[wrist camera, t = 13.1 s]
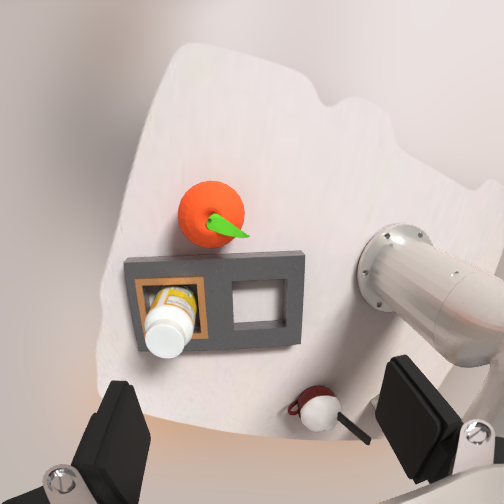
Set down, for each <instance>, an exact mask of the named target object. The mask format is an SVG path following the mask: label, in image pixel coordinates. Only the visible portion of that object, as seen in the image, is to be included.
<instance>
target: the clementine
mask: <svg viewBox="0 0 504 504" xmlns="http://www.w3.org/2000/svg"><path fill="white" fill-rule="evenodd" d="M244 214H245V212H244V206H243V203H242V200H241V198H240V196H239V195H238V194H237V193H236V191H235V190H234V189H232V188H231V187H230V186H228V185H227V184H224V183H221V182H217V181H206V182H201V183H199V184H197V185H195V186H193V187H192V188H190V189H189V190H188V191H187V192H186V193H185V195H184V196H183V198H182V199H181V202H180V205H179V208H178V220H179V225H180V227H181V229H182V231H183V233H184V235H185V236H186V237H187V238H188V239H189V240H190V241H192V242H193V243H195V244H196V245H199V246H202V247H207V248H215V247H221V246H223V245H225V244H227V243H229V242H230V241H232V240H233V239H234V238H235V237H239V238H247V237H250V236H249V235H247V234H246V233H244V232H243V231H241V227H242V225H243V222H244Z"/></svg>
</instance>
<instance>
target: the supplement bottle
mask: <svg viewBox="0 0 504 504" xmlns="http://www.w3.org/2000/svg"><path fill="white" fill-rule="evenodd" d="M196 311H197V299H196V297H195V295H194V293H193V292H192V291H191V290H190V289H189V288H188V287H186V286H185V285H182V284H179V285H165V286H163V287H162V288H161V289H160V290H159V291H158V293H157V295H156V297H155V299H154V301H153V303H152V305H151V308H150V310H149V312H148V314H147V316H146V319H145V323H144V328H145V332H146V336H145V343H146V346H147V348H148V349H149V350H150V351H151V352H152V353H153V354H154V355H156V356H158V357H160V358H165V359H170V358H174V357H176V356H178V355H179V354H180V353H181V352H182V351H183V349H184V346H185V345H186V344H188V342H189V341H190V340H191V338H192V335H193V331H194V324H195V317H196Z"/></svg>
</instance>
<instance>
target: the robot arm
mask: <svg viewBox="0 0 504 504" xmlns="http://www.w3.org/2000/svg"><path fill="white" fill-rule="evenodd" d="M363 271H364V272H363ZM357 279H358V286H359V290H360V292H361V294H362V296H363V298H364V299H365V300H366V301H367V302H368V303H369V304H370V305H371V306H372V307H373V308H375V309H377V310H379V311H383V312H396V313H397V314H398V315H399V316H400V317H401V318H402V319H403V320H404V321H405V322H407V323H408V324H409V325H410V326H411V327H412V328H413V329H414V330H415V331H416V332H417V333H418V334H419V335H421V336H422V337H423V338H424V339H425V340H426V341H427V342H428V343H429V344H430V345H431V346H432V347H433V348H434V349H435V350H436V351H438V352H439V353H440V354H441V355H442V356H443V357H444V358H445V359H446V360H448V361H449V362H450V363H452V364H454V365H456V366H459V367H465V368H472V367H479V366H483V365H487V364H490V370H489V373H488V375H487V377H486V379H485V381H484V383H483V385H482V388H481V389H480V391H479V393H478V394H477V396H476V398H475V399H474V401H473V403H472V404H471V406H470V407H469V409H468V410H467V412H466V413H465V415H464V417H463V418H462V419H461V418H460V417H459V416H458V415H457V413H456V412H455V411H454V410H453V408H452V407H451V406H450V405H449V404H448V402H447V401H446V400H445V399H444V398H443V397H442V395H441V394H440V393H439V392H438V390H437V389H436V388H435V387H434V386H433V385H432V383H431V382H430V381H429V380H428V379H427V378H426V376H425V375H424V374H423V373H422V372H421V371H420V369H419V368H418V367H417V366H416V365H415V364H414V363H413V361H412V360H411V359H410V358H409V357H408V356H407V355H401V356H397V357H393V358H391V360H390V362H388V363H387V365H386V370H385V374H384V379H383V383H382V387H381V391H380V395H379V399H378V403H377V407H376V411H375V417H376V420H377V422H378V423H379V425H380V427H381V429H382V431H383V432H384V434H385V436H386V438H387V440H388V441H389V443H390V445H391V447H392V449H393V451H394V453H395V454H396V456H397V458H398V460H399V462H400V464H401V465H402V467H403V469H404V471H405V473H406V475H407V476H408V478H409V479H413V481H414V482H415V484H418V483H421V482H423V481H425V480H428V482H429V483H430V484H429V485H427V486H425V487H422V488H419V489H417V490H414V491H411V492H409V493H406V494H403V495H400V496H398V497H395V498H392V499H389V500H386V501H383V502H380V503H376V504H504V280H502V279H500V278H498V277H496V276H494V275H492V274H490V273H488V272H486V271H484V270H482V269H480V268H478V267H476V266H474V265H471V264H469V263H467V262H465V261H463V260H461V259H459V258H457V257H455V256H453V255H451V254H448V253H446V252H444V251H442V250H440V249H438V248H435V247H433V244H432V242H431V240H430V238H429V236H428V235H427V234H426V233H425V232H424V231H423V230H422V229H420V228H419V227H416V226H414V225H411V224H407V223H397V224H393V225H390V226H388V227H385V228H383V229H382V230H381V231H379V232H378V233H377V234H376V235H375V236H374V237H373V238H372V239H371V240H370V241H369V243H368V244H367V246H366V247H365V249H364V251H363V253H362V255H361V258H360V261H359V264H358V272H357ZM150 441H151V437H150V432H149V430H148V427H147V424H146V422H145V419H144V416H143V413H142V410H141V408H140V405H139V402H138V399H137V396H136V393H135V390H134V387H133V386H132V385H129V383H128V382H127V381H114V380H113V381H111V382H110V384H109V387H108V389H107V391H106V393H105V395H104V398H103V400H102V402H101V404H100V407H99V409H98V411H97V413H94V414H93V415H92V416H91V418H90V421H89V423H88V425H87V427H86V430H85V432H84V434H83V436H82V439H81V441H80V444H79V446H78V449H77V451H76V453H75V456H74V458H73V461H72V463H71V466H69V465H63V464H61V465H56V466H53V467H52V468H50V469H49V470H48V471H46V473H45V475H44V476H43V486H41V487H39V488H37V489H34V490H32V491H29V492H27V493H24V494H22V495H19V496H17V497H14V498H11V499H9V500H7V501H5V502H3V503H2V504H138V502H139V497H140V491H141V485H142V481H143V475H144V470H145V466H146V460H147V456H148V451H149V446H150Z"/></svg>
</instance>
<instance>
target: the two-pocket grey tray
mask: <svg viewBox="0 0 504 504" xmlns="http://www.w3.org/2000/svg"><path fill="white" fill-rule="evenodd" d="M124 270H125V277H126V284H127V290H128V297H129V303H130V308H131V314H132V319H133V324H134V330H135V335H136V339H137V344H138V349H139V351H150V350H149V349H148V348H147V346H146V343H145V336H146V332H145V328H144V323H145V319H146V316H147V314H148V312H149V310H150V303H149V297H148V290H147V285H179V284H197V292H198V304H199V315H200V324H196V325H194V331H193V335H192V338H191V340H190V341H189V342H188V344H186V345H185V346H184V349H183V351H203V350H228V349H246V348H261V347H274V346H285V345H296V344H301V331H302V314H303V296H304V273H305V254H304V253H303V252H302V251H279V252H255V253H231V254H207V255H183V256H159V257H135V258H127V259H126V261H125V262H124ZM271 279H284V311H283V320H274V321H259V322H243V323H234V320H233V297H232V281H252V280H271Z"/></svg>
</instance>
